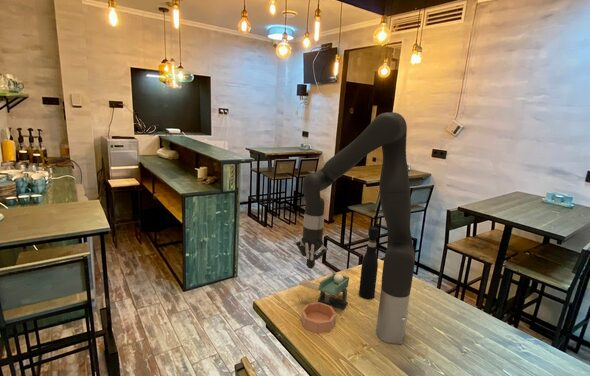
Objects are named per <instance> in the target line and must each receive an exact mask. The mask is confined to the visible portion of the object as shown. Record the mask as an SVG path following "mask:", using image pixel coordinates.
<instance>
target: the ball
mask: <svg viewBox="0 0 590 376" xmlns="http://www.w3.org/2000/svg"><path fill="white" fill-rule="evenodd" d="M342 275H343V274H341V273H336V275H335V276H334V282H335V283H336V284H340V283H341V282H343V280H344V278H343V276H344V275H343V276H342Z"/></svg>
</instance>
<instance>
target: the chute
mask: <svg viewBox="0 0 590 376" xmlns="http://www.w3.org/2000/svg"><path fill="white" fill-rule="evenodd" d="M336 274H337V273H335V272H332V274H331V275H329V276H328V277H326V278H324V279H323V280H321V281H320V282H319V284H317V283H315V282H313V281H312V282H311V281H309V280H305V279H303V280H301V281H299V283H298V285H299V286H302V287H304V288H308V289H311V290H314V291H323V292H325V294H328V295H332V296H335V297H337V296H338V295H339V294H341V293H343V290H344V289H346V290H347V288H348V286H349V280H350V277H349V276H346V275H343V274H341V275H342V276H343V278H344V280H343V282H341V283H340V284H336V283H335V282H334V276H335V275H336Z"/></svg>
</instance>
